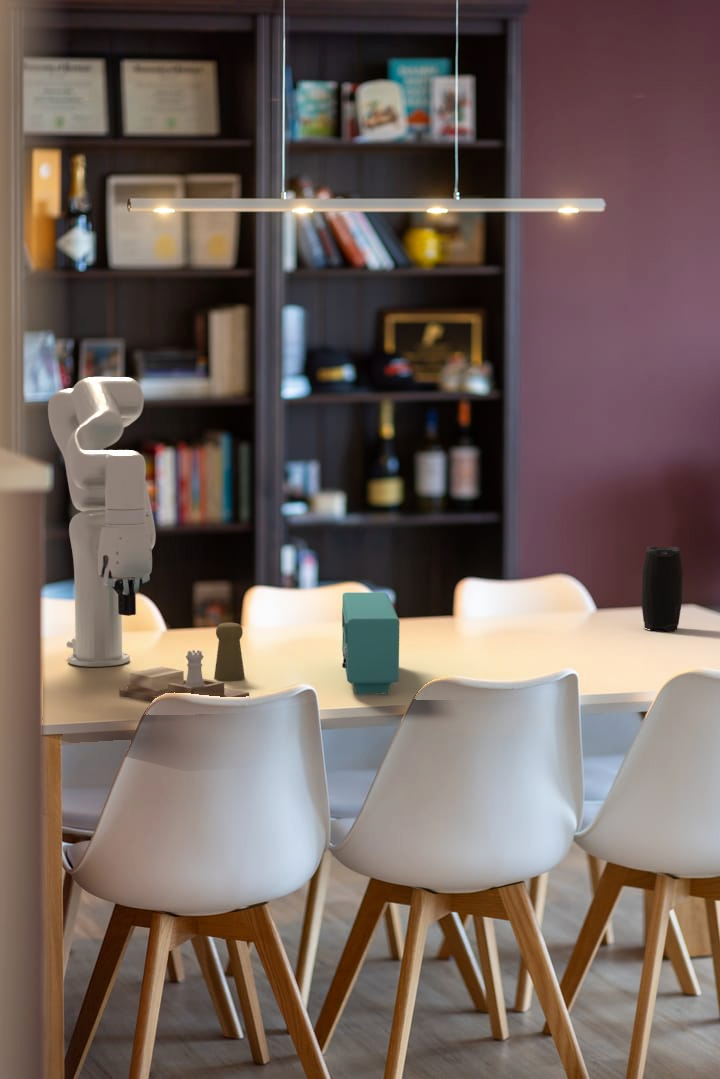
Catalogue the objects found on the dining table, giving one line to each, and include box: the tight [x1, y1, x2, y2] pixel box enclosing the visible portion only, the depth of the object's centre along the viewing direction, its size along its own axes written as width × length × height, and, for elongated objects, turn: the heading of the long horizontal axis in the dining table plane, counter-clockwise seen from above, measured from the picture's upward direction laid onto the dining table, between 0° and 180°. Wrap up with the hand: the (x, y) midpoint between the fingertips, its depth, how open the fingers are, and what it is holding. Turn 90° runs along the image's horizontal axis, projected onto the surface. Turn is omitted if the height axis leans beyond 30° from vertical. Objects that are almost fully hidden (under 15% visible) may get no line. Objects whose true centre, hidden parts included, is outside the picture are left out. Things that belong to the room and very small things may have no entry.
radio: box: [341, 592, 401, 695], centre depth 291 cm, size 34×10×15 cm, turn 2°
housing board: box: [118, 678, 250, 703], centre depth 275 cm, size 20×14×3 cm
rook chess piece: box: [184, 649, 206, 687], centre depth 271 cm, size 4×4×8 cm
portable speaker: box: [641, 545, 684, 632], centre depth 351 cm, size 9×9×20 cm
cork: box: [213, 622, 246, 682], centre depth 292 cm, size 6×6×11 cm
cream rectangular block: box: [129, 666, 185, 691], centre depth 278 cm, size 6×8×3 cm
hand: (127, 614), depth 281 cm, fingers closed
